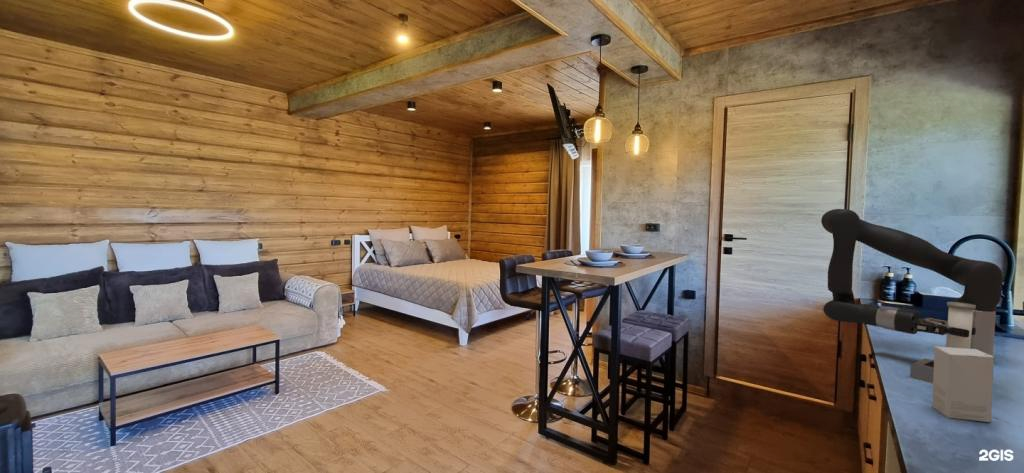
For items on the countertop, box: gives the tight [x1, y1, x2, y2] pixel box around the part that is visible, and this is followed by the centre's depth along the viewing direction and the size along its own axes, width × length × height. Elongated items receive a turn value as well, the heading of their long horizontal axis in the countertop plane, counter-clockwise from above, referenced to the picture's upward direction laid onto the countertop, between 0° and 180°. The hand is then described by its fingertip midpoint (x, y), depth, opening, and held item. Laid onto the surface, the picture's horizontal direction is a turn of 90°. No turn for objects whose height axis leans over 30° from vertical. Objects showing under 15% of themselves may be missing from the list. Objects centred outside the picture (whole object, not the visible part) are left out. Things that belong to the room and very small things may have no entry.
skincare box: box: [931, 345, 996, 423], centre depth 101 cm, size 8×7×16 cm
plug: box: [945, 301, 976, 349], centre depth 126 cm, size 6×6×18 cm
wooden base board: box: [908, 357, 934, 385], centre depth 123 cm, size 23×11×5 cm, turn 119°
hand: (971, 332), depth 124 cm, fingers closed on plug, 5 cm apart
